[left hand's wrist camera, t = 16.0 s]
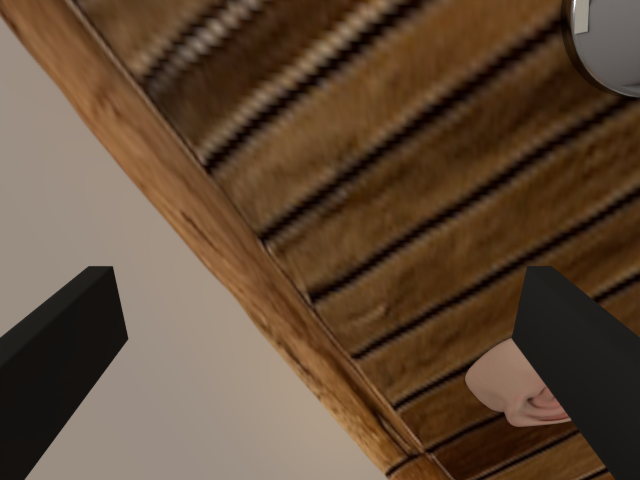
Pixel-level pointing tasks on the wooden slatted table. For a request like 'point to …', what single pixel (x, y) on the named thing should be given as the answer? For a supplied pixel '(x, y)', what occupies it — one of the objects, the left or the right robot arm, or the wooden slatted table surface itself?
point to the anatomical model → (513, 387)
